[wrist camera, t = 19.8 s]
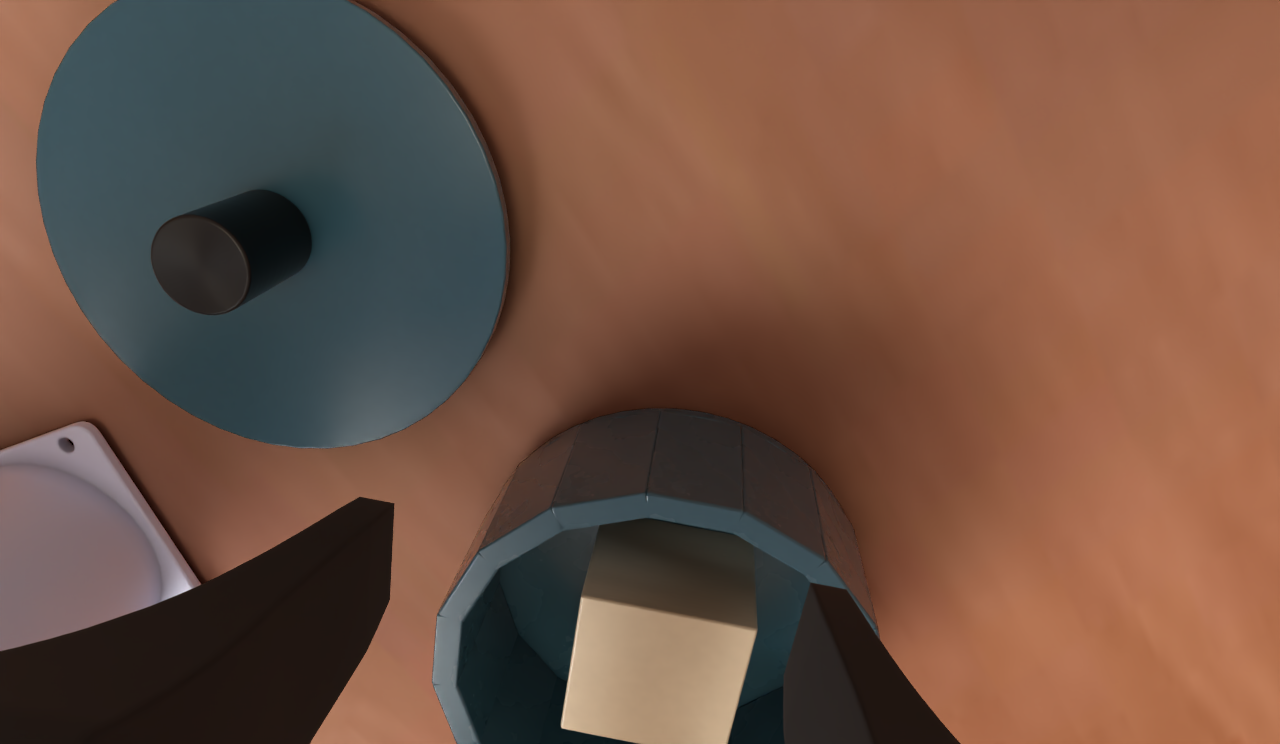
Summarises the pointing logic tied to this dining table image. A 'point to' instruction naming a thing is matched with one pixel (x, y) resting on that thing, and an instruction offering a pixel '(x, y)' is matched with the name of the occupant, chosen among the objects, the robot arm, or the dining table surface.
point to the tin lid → (274, 214)
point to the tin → (563, 544)
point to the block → (662, 634)
